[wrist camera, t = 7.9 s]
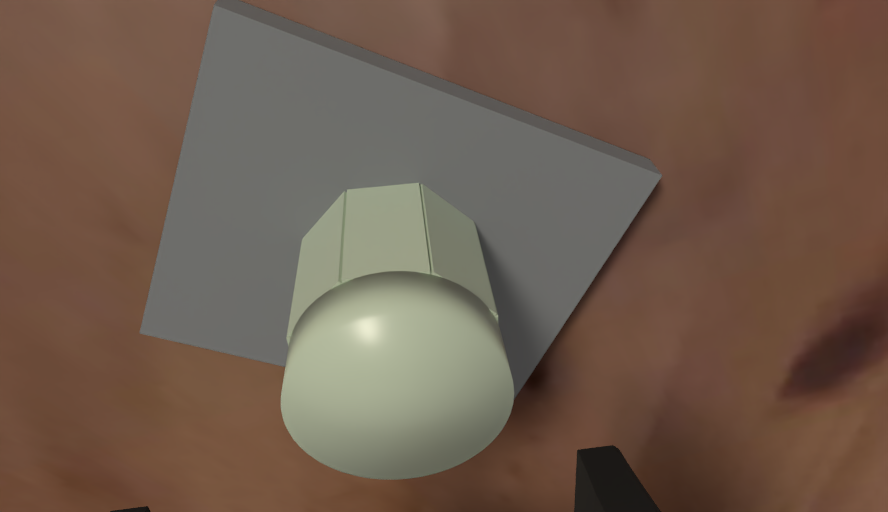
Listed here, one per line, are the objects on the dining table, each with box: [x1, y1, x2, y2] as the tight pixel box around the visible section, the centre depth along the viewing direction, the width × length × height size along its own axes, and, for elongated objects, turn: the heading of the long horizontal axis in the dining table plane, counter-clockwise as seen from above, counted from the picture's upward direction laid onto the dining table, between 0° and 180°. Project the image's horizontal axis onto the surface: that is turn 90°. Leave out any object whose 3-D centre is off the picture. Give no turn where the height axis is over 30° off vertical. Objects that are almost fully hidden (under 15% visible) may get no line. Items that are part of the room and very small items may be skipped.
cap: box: [281, 183, 514, 479], centre depth 16 cm, size 5×5×6 cm
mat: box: [140, 0, 662, 399], centre depth 19 cm, size 12×10×1 cm
